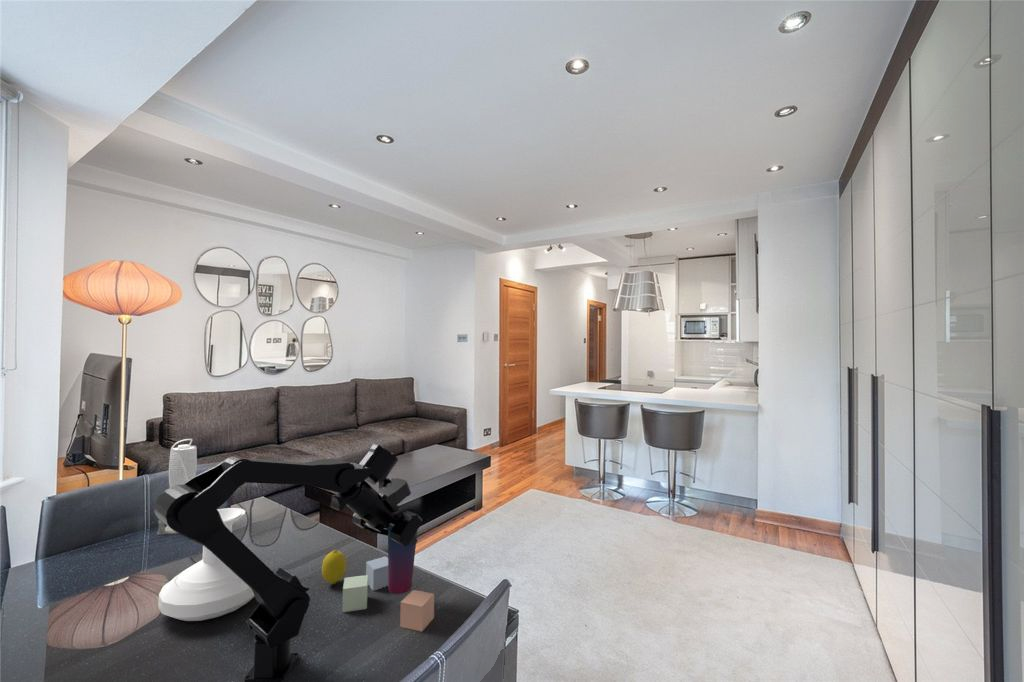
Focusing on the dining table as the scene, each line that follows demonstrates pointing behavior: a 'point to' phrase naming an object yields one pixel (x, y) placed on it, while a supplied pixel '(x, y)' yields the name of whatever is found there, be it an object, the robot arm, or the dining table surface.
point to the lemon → (334, 566)
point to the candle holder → (206, 585)
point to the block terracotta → (417, 610)
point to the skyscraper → (180, 472)
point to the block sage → (355, 593)
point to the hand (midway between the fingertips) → (407, 539)
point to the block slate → (377, 573)
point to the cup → (400, 565)
